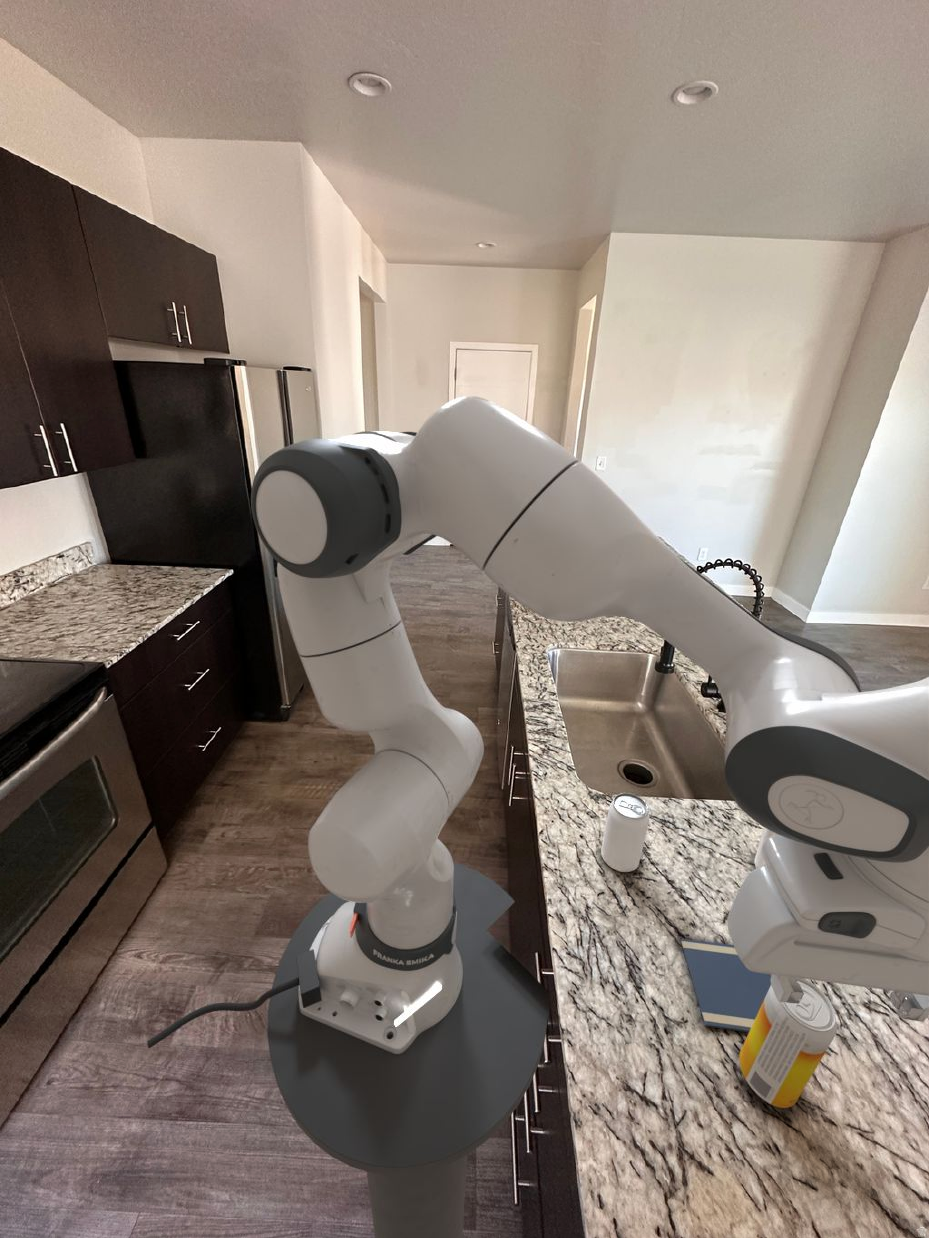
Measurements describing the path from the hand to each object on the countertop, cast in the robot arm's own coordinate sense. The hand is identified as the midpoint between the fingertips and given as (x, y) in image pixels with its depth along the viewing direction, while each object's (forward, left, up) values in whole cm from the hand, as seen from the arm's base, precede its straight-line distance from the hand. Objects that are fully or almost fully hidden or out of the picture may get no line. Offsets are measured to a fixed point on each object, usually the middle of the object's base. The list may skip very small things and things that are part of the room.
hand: (843, 1001), depth 40 cm
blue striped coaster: (+4, +17, -27) cm, 32 cm away
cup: (+18, +37, -27) cm, 49 cm away
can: (-8, +36, -27) cm, 46 cm away
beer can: (+4, +7, -27) cm, 28 cm away
